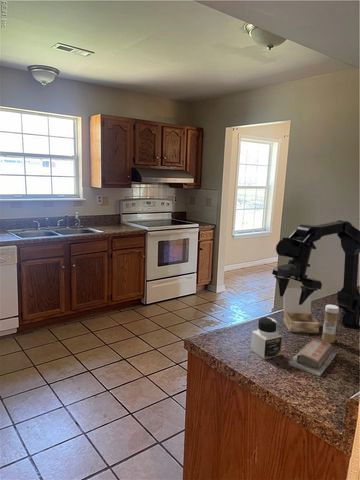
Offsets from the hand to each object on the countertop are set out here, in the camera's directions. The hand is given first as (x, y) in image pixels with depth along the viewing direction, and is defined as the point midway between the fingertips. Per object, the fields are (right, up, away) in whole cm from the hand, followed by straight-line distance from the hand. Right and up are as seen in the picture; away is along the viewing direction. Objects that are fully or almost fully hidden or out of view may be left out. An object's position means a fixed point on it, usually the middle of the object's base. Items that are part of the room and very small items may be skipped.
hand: (290, 300), depth 126 cm
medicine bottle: (-11, -17, -9) cm, 22 cm away
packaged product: (+4, -18, -12) cm, 22 cm away
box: (+8, -13, +14) cm, 21 cm away
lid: (+9, -3, +18) cm, 21 cm away
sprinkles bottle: (+15, -16, +3) cm, 22 cm away
